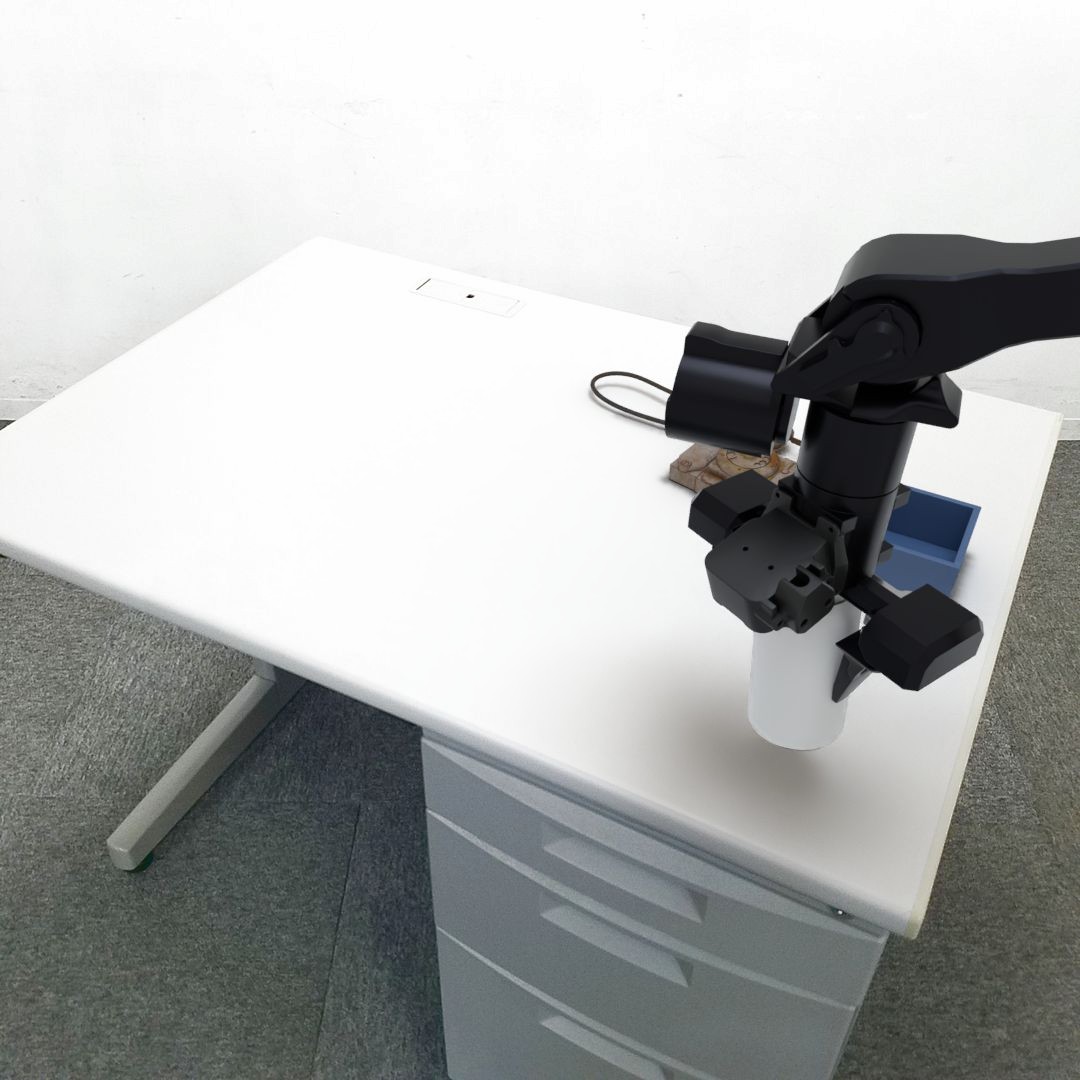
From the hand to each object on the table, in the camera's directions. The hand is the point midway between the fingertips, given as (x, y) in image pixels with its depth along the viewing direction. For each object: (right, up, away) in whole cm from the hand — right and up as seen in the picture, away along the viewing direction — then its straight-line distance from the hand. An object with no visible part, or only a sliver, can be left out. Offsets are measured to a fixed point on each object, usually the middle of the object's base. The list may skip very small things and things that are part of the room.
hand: (798, 667), depth 64 cm
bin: (+15, +6, +24) cm, 29 cm away
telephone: (+1, +18, +39) cm, 43 cm away
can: (0, -4, +3) cm, 5 cm away
